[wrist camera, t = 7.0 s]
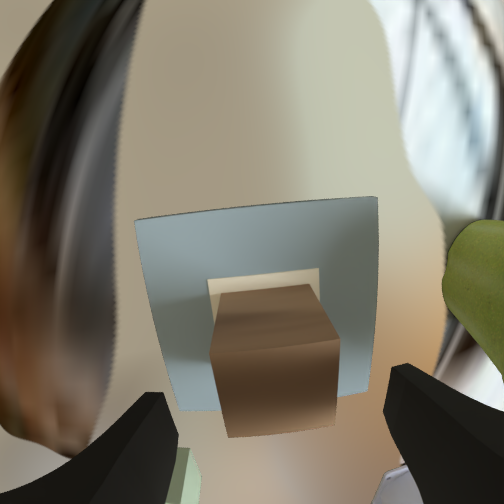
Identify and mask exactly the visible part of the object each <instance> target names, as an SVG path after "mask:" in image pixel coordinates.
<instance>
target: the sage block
mask: <svg viewBox="0 0 504 504" xmlns="http://www.w3.org/2000/svg"><path fill="white" fill-rule="evenodd" d="M201 479H202V475H201V473H200V471H199V469H198V466H197V464H196V462H195V459H194V456H193V454H192V452H191V449H190V448H182V447H181V448H180V447H177V455H176V462H175V466H174V470H173V474H172V479H171V483H170V487H169V491H168V495H167V499H166V503H165V504H199V496H200V488H201Z"/></svg>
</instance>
